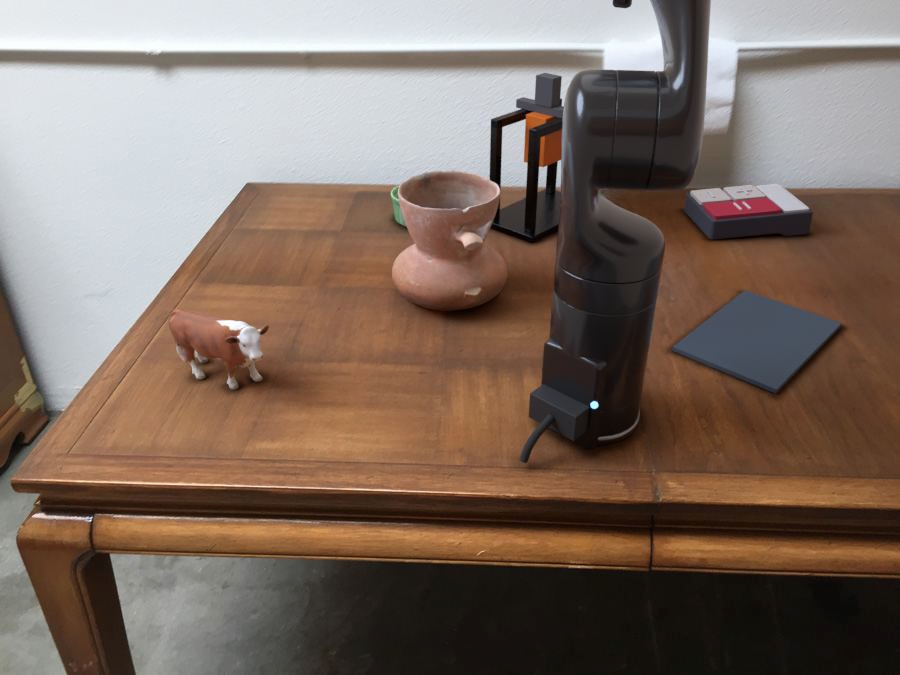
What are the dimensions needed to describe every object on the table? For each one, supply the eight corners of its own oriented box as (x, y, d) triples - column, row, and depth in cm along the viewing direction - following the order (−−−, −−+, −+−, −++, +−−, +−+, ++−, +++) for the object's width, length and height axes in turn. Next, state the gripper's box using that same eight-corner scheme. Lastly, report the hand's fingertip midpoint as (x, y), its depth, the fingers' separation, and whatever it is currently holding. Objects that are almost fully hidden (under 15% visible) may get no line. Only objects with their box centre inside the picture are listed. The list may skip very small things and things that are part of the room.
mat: (775, 394, 79) (777, 389, 79) (671, 351, 86) (672, 346, 86) (840, 327, 90) (842, 323, 90) (744, 293, 97) (744, 289, 97)
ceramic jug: (529, 315, 93) (535, 205, 86) (415, 337, 89) (411, 224, 82) (475, 253, 108) (476, 155, 100) (375, 270, 103) (368, 169, 96)
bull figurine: (260, 409, 78) (249, 341, 73) (170, 370, 84) (154, 305, 79) (290, 387, 81) (280, 321, 76) (200, 351, 87) (187, 288, 83)
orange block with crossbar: (561, 172, 109) (567, 85, 103) (506, 156, 115) (509, 73, 108) (581, 163, 112) (589, 78, 106) (527, 148, 118) (531, 66, 112)
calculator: (685, 188, 118) (780, 179, 119) (682, 214, 120) (775, 205, 121) (713, 216, 109) (815, 206, 110) (709, 244, 111) (809, 234, 112)
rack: (531, 243, 110) (537, 133, 102) (479, 224, 116) (481, 119, 108) (598, 209, 121) (609, 107, 112) (547, 193, 127) (554, 94, 118)
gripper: (645, -150, 95) (630, -8, 104) (596, -149, 85) (583, 8, 94) (705, -150, 92) (684, -3, 100) (660, -149, 82) (641, 13, 91)
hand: (635, 2), depth 97 cm, fingers open, 8 cm apart
